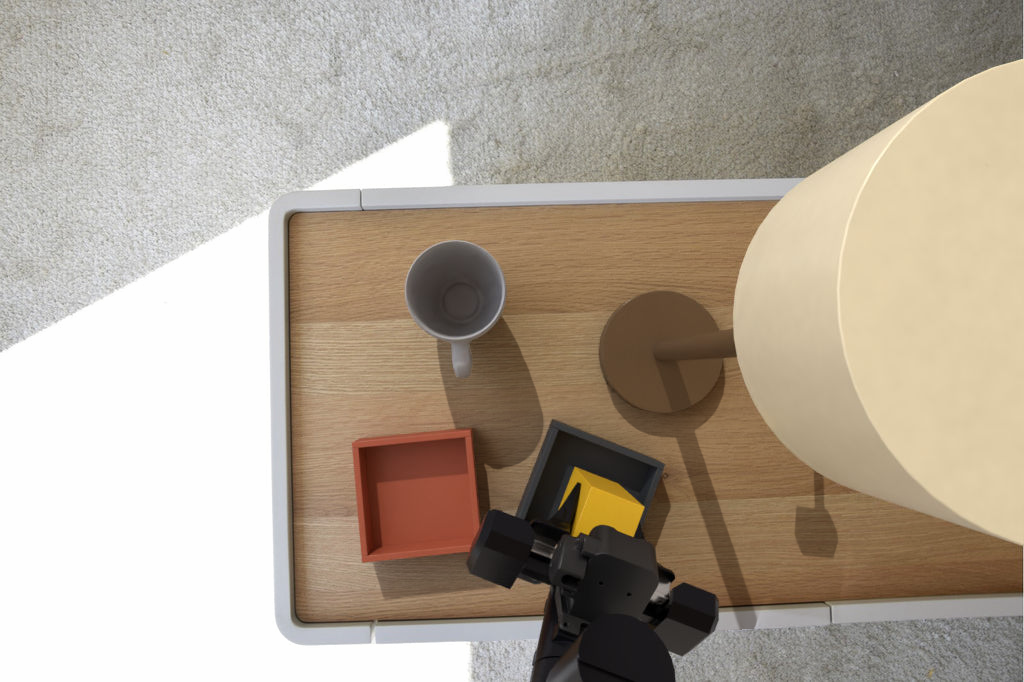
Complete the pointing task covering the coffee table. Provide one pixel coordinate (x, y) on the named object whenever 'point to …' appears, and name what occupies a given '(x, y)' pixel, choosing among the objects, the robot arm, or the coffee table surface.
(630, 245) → the coffee table surface
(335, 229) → the coffee table surface
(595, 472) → the bin right
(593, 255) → the coffee table surface
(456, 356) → the mug
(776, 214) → the tall lamp
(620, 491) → the yellow box
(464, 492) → the bin left
